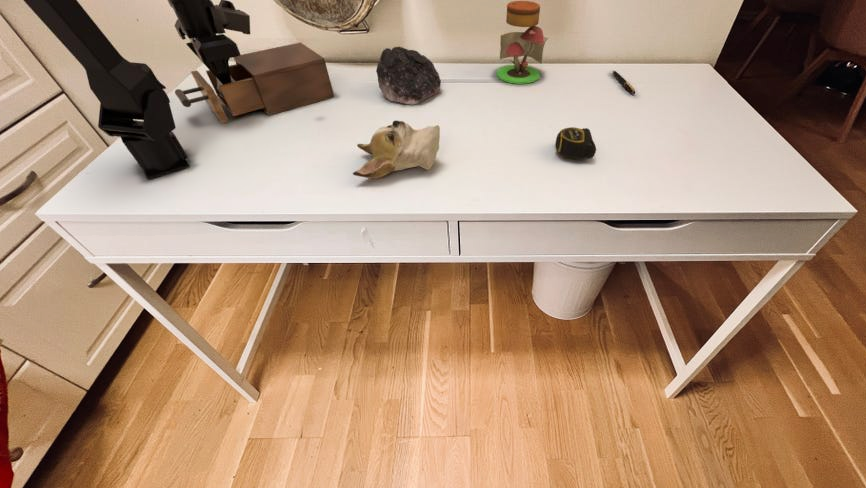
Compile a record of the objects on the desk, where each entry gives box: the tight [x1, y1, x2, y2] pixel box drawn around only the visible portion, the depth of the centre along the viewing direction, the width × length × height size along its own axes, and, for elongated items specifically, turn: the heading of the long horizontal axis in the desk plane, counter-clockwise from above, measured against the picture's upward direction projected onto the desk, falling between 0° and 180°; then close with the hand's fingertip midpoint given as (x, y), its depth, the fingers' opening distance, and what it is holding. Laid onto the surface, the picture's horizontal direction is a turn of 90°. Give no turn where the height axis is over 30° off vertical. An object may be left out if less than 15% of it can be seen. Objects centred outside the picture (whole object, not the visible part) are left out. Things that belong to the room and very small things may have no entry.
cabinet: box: [233, 41, 335, 116], centre depth 85 cm, size 15×13×8 cm
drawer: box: [174, 63, 265, 123], centre depth 80 cm, size 18×11×6 cm, turn 130°
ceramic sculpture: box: [352, 120, 441, 179], centre depth 66 cm, size 11×9×15 cm
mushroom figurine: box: [496, 0, 550, 85], centre depth 92 cm, size 12×13×15 cm
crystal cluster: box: [375, 46, 442, 106], centre depth 87 cm, size 13×14×10 cm
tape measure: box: [554, 126, 597, 160], centre depth 71 cm, size 7×7×4 cm
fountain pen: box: [611, 69, 636, 95], centre depth 94 cm, size 14×1×2 cm, turn 8°
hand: (226, 85), depth 79 cm, fingers closed on rook chess piece, 3 cm apart
